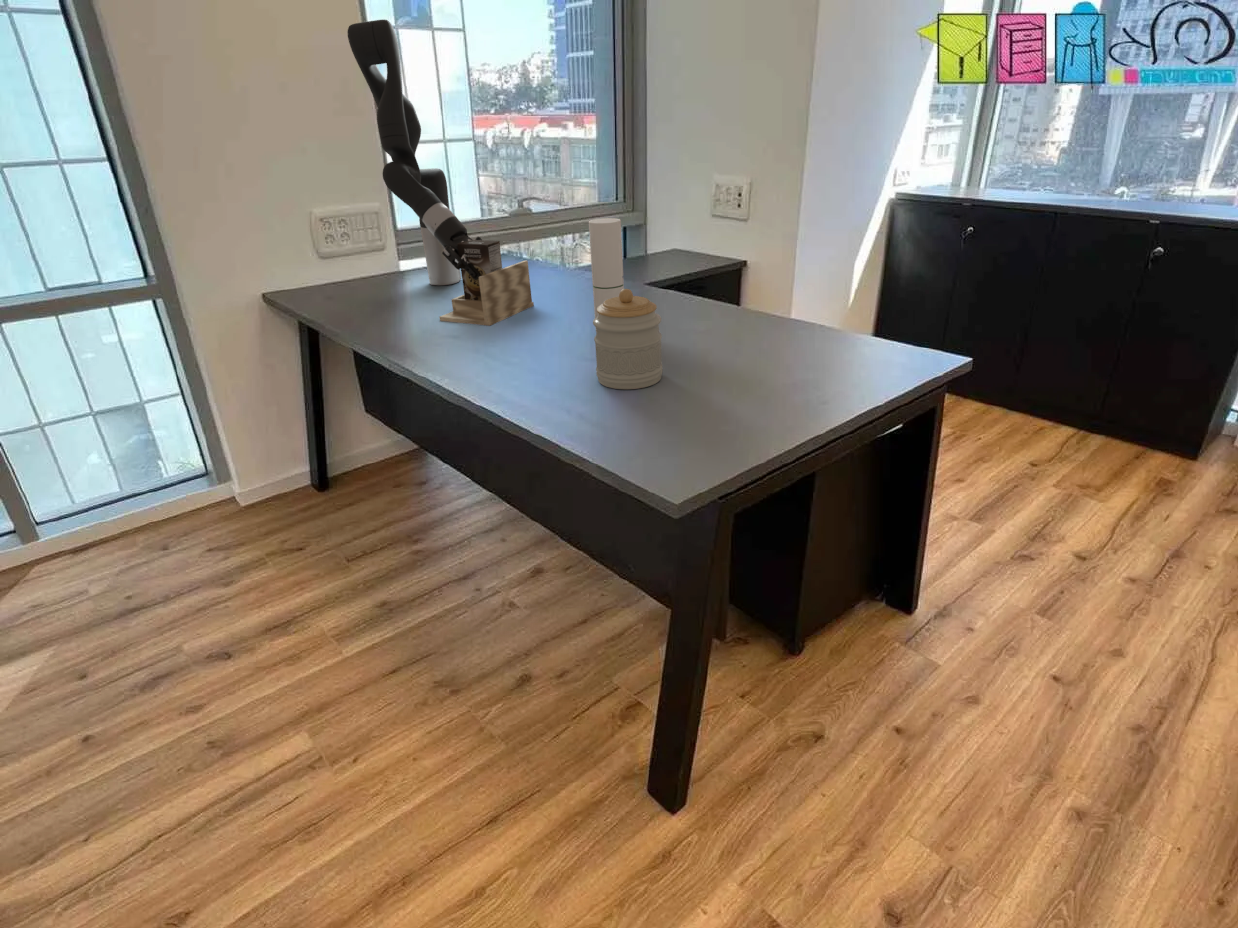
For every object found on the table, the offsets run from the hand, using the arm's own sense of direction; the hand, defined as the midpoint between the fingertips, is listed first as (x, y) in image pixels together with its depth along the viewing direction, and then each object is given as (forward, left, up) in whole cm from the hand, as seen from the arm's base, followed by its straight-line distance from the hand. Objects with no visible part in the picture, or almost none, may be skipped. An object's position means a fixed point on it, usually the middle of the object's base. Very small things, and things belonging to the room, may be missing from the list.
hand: (487, 274), depth 186 cm
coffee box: (0, -2, -8) cm, 8 cm away
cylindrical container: (+4, +38, -10) cm, 39 cm away
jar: (+32, +57, -10) cm, 66 cm away
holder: (0, -1, -10) cm, 10 cm away
